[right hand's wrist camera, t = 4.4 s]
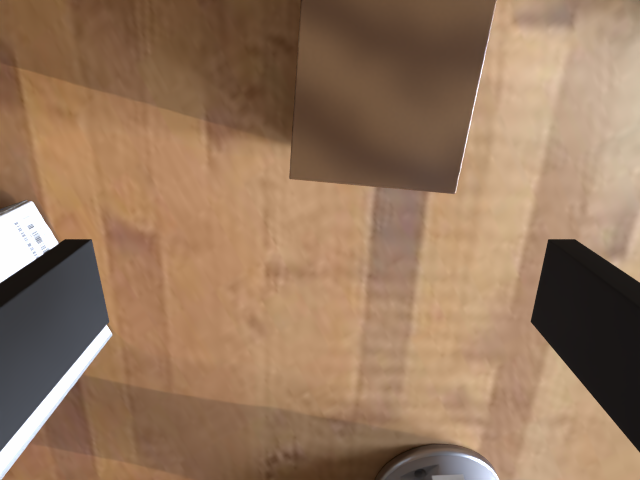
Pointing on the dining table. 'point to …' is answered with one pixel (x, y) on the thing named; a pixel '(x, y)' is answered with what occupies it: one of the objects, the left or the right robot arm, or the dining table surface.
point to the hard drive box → (3, 261)
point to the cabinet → (387, 90)
